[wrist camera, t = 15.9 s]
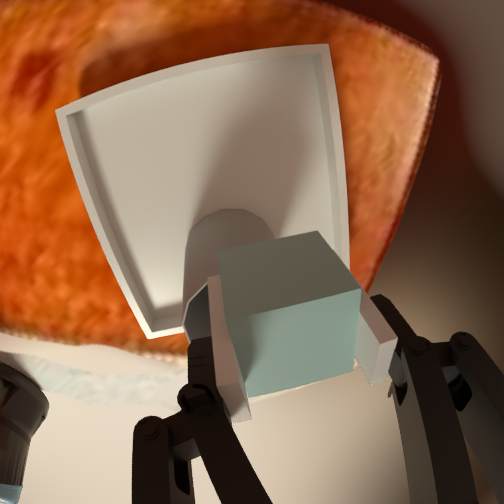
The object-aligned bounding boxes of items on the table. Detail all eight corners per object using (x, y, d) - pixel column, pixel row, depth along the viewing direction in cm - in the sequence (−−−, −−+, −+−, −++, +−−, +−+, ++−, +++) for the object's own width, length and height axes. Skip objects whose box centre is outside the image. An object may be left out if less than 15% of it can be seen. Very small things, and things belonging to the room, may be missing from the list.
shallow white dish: (151, 313, 34) (147, 339, 30) (74, 106, 22) (55, 110, 18) (334, 268, 35) (349, 289, 31) (310, 49, 23) (328, 43, 19)
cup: (258, 194, 26) (288, 248, 18) (285, 267, 31) (318, 337, 22) (169, 231, 27) (158, 301, 18) (207, 298, 31) (214, 375, 22)
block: (236, 326, 17) (248, 397, 13) (217, 250, 15) (225, 320, 10) (320, 307, 17) (352, 370, 13) (317, 230, 15) (361, 288, 11)
